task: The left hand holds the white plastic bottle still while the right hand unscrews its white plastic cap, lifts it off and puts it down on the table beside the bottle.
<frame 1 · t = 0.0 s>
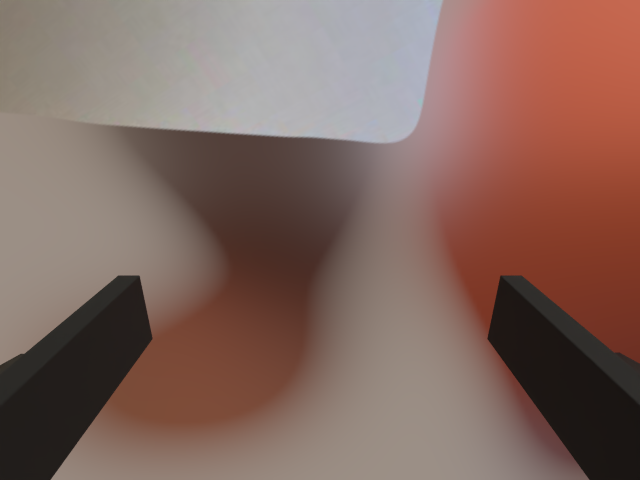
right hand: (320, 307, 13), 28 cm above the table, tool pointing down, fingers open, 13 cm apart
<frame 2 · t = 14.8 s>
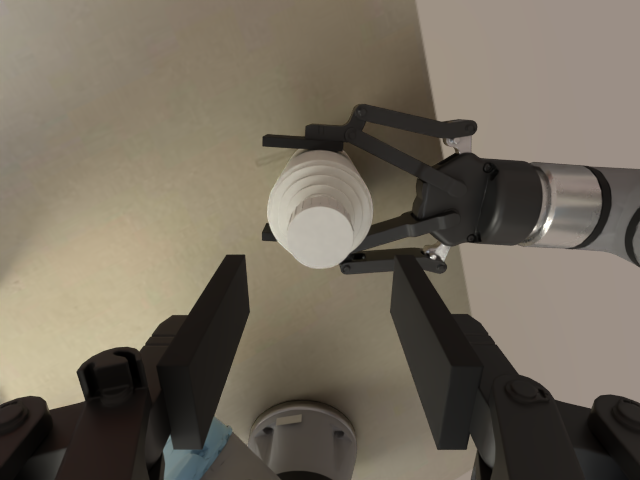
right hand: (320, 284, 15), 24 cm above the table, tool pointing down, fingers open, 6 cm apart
left hand: (265, 188, 31), fingers closed on bottle, 7 cm apart
cap: (320, 236, 20), point 18 cm above the table, screwed on, not yet turned
bottle: (320, 177, 37), on the table, touching left hand
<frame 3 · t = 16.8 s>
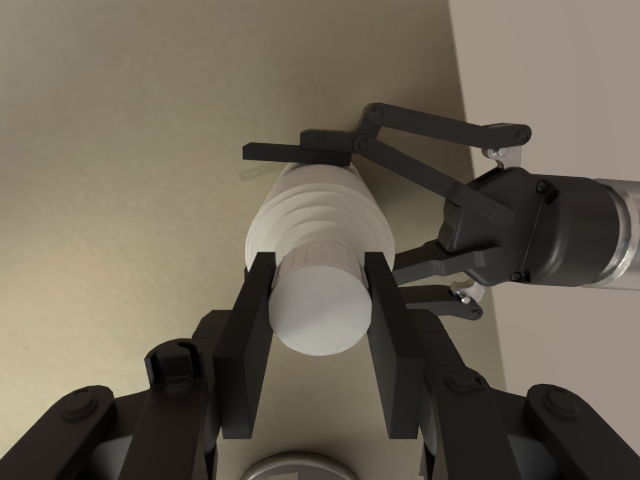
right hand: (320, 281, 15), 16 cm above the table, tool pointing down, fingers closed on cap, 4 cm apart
left hand: (248, 212, 23), fingers closed on bottle, 7 cm apart
cap: (320, 308, 13), point 18 cm above the table, screwed on, not yet turned, touching right hand
bottle: (319, 194, 29), on the table, touching left hand
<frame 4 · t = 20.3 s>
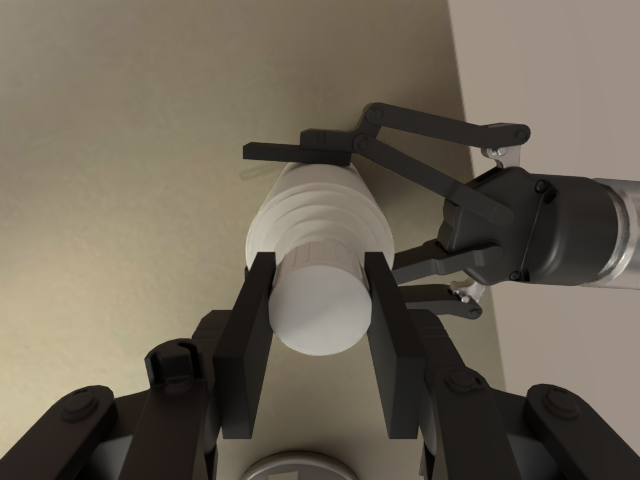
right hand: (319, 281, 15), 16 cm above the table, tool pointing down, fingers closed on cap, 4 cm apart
left hand: (248, 211, 24), fingers closed on bottle, 7 cm apart
cap: (320, 308, 13), point 18 cm above the table, turned 128° so far, risen 0.1 cm, still on its thread, touching right hand
bottle: (319, 194, 30), on the table, touching left hand
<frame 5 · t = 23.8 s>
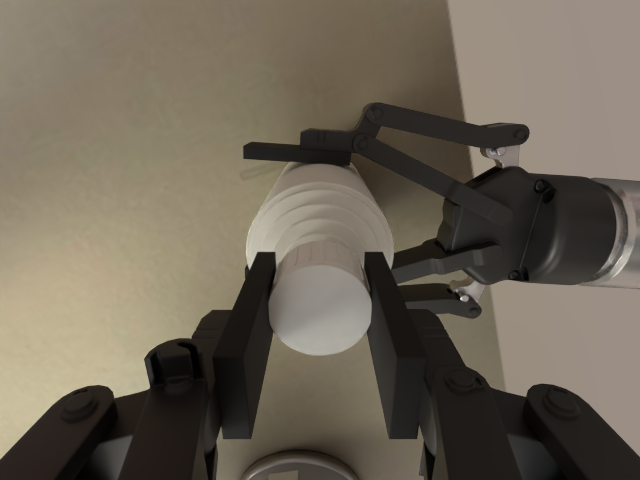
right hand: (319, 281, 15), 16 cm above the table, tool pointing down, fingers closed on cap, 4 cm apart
left hand: (248, 211, 24), fingers closed on bottle, 7 cm apart
cap: (320, 308, 13), point 18 cm above the table, turned 256° so far, risen 0.2 cm, still on its thread, touching right hand
bottle: (319, 194, 30), on the table, touching left hand
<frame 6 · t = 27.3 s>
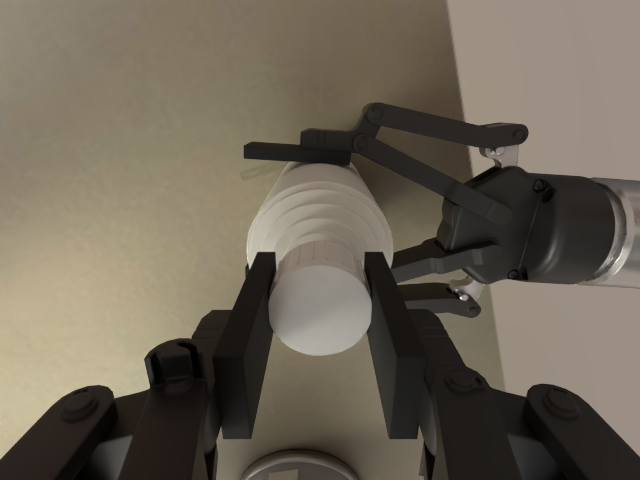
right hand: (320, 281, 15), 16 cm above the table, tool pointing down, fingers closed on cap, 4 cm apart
left hand: (249, 210, 24), fingers closed on bottle, 7 cm apart
cap: (320, 308, 13), point 18 cm above the table, turned 385° so far, risen 0.3 cm, still on its thread, touching right hand
bottle: (319, 193, 30), on the table, touching left hand
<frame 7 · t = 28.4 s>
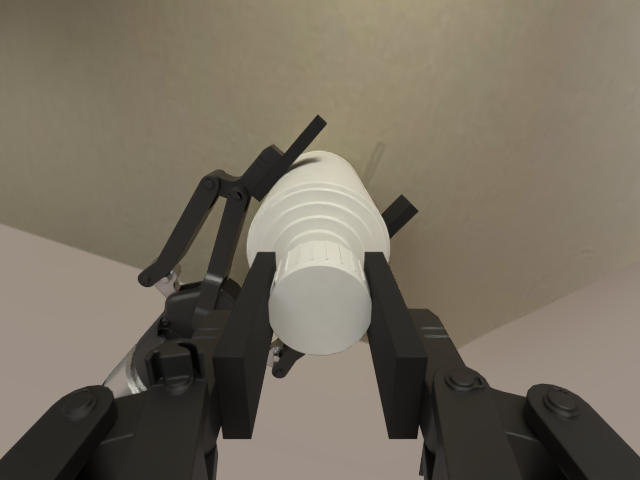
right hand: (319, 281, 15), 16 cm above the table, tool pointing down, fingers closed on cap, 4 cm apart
left hand: (367, 162, 23), fingers closed on bottle, 7 cm apart
cap: (320, 308, 13), point 19 cm above the table, off its thread, touching right hand
bottle: (318, 194, 30), on the table, touching left hand
when the right hand's fingers open (1 cm above the table, at t = 35.1 s): cap stays where it is, point 2 cm above the table.
when the left hand's fingers open (6 cm above the table, at t = 36.3 s): bottle stays where it is, on the table.
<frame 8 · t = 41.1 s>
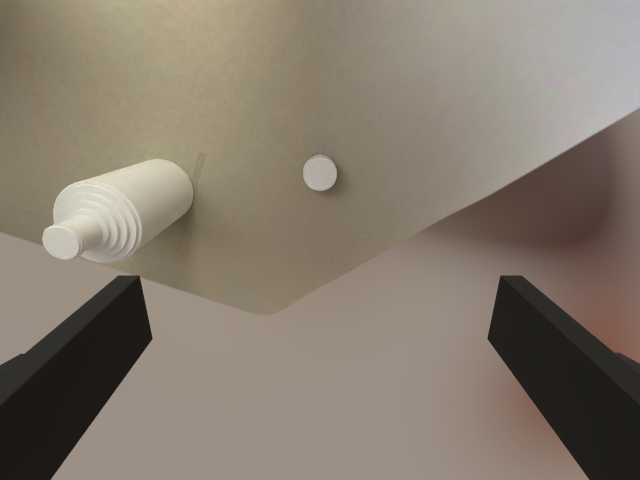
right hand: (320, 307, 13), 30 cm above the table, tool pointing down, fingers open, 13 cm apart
cap: (320, 173, 39), point 2 cm above the table, off its thread
bottle: (162, 190, 42), on the table
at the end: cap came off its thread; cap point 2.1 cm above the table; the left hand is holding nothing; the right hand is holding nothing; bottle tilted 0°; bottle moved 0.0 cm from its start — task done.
